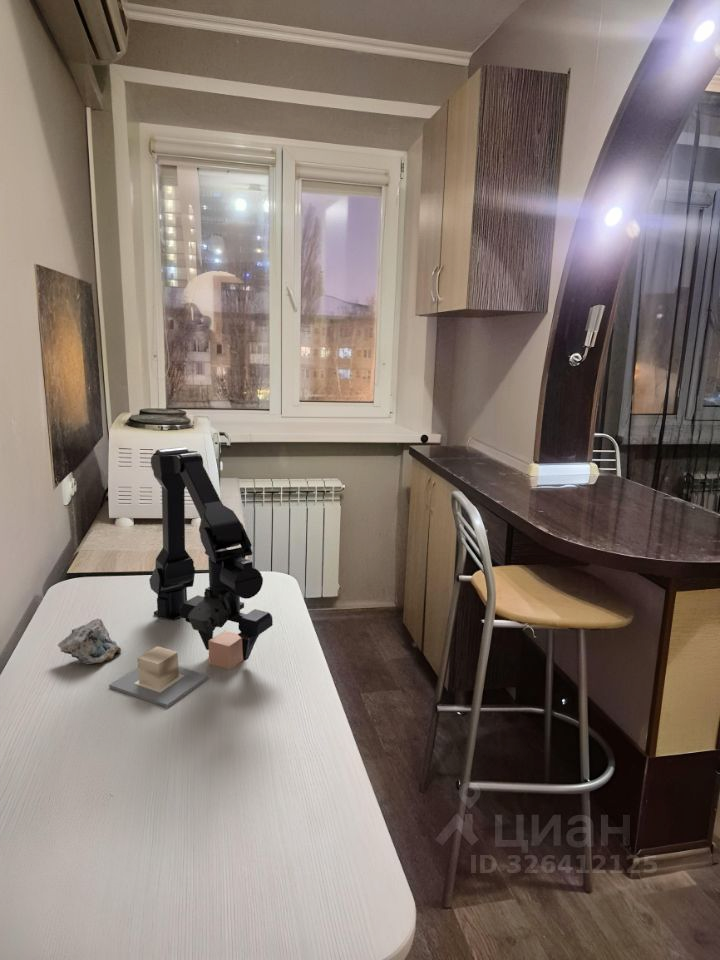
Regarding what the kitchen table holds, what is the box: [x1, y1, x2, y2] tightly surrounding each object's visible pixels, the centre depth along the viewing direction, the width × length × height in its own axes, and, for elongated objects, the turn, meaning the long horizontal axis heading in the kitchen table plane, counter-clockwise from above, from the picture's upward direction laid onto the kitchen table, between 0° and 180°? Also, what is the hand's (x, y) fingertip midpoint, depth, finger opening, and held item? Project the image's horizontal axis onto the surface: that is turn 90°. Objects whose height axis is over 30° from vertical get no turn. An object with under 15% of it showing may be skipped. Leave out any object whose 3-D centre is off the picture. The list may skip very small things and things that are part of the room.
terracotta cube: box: [208, 630, 244, 670], centre depth 126 cm, size 5×5×5 cm
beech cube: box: [137, 646, 179, 689], centre depth 117 cm, size 5×5×5 cm
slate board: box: [108, 665, 209, 709], centre depth 118 cm, size 11×14×1 cm
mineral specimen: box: [57, 618, 122, 665], centre depth 126 cm, size 10×8×10 cm
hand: (227, 654), depth 126 cm, fingers open, 9 cm apart
